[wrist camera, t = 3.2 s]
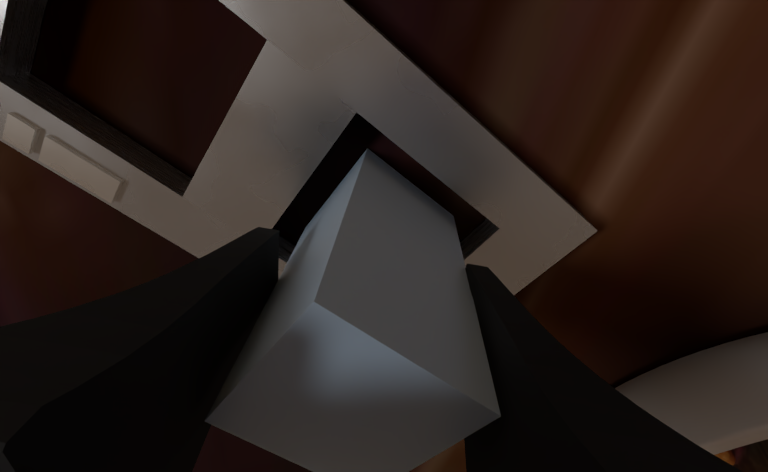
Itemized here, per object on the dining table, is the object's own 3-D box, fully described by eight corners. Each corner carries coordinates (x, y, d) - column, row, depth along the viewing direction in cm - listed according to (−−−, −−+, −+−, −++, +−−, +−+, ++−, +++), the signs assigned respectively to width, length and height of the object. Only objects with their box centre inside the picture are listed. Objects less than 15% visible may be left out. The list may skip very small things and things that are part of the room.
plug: (453, 215, 13) (501, 416, 6) (386, 281, 15) (367, 496, 8) (367, 148, 12) (314, 301, 5) (305, 227, 14) (204, 421, 7)
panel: (582, 214, 13) (600, 233, 12) (404, 358, 17) (404, 383, 16) (-69, -376, 7) (-162, -456, 6) (-96, 51, 12) (-156, 54, 10)
